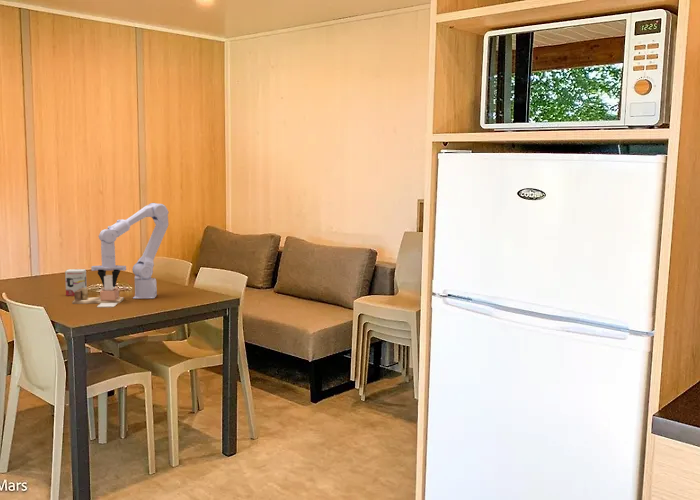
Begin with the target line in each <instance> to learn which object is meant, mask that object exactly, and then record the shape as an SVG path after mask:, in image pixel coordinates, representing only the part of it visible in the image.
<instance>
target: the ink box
mask: <svg viewBox="0 0 700 500" xmlns="http://www.w3.org/2000/svg"><path fill="white" fill-rule="evenodd" d="M64 274H65V276H64V277H65V296H66V297H75V295H74V292H75V291H77V290H78V289H82V288H87V289H88V287H87V285H88V283H87V269H85V268H83V269H82V268H80V269H79V268H75V269H74V268H72V269H70V268H69V269H66V270H65V271H64Z"/></svg>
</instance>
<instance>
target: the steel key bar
mask: <svg viewBox="0 0 700 500" xmlns="http://www.w3.org/2000/svg"><path fill="white" fill-rule="evenodd" d="M115 288H116V286H115V287H113V275H112V274H106V275H105V276H104V287H103V289H104V291H114V290H115Z"/></svg>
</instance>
